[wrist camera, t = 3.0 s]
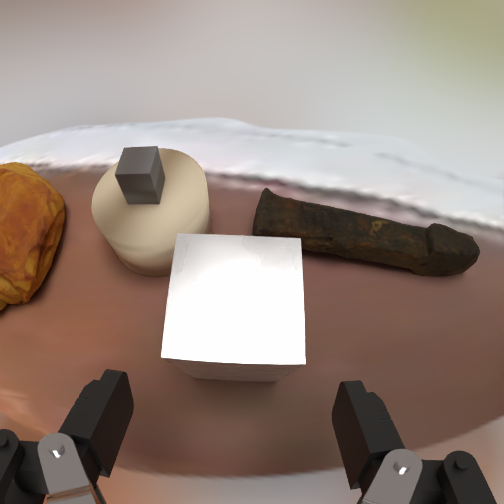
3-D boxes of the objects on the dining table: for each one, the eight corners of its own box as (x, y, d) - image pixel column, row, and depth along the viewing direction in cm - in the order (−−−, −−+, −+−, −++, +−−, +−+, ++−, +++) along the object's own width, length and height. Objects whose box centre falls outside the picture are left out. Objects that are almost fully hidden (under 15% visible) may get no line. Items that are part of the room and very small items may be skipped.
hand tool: (247, 252, 24) (250, 218, 20) (259, 210, 26) (263, 172, 22) (462, 301, 23) (495, 280, 18) (459, 261, 24) (488, 235, 20)
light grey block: (277, 303, 22) (300, 238, 14) (277, 381, 19) (304, 363, 11) (199, 300, 22) (177, 233, 14) (193, 378, 19) (161, 357, 11)
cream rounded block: (232, 222, 25) (231, 148, 18) (162, 298, 22) (128, 243, 15) (162, 175, 27) (144, 104, 20) (96, 238, 24) (54, 175, 17)
